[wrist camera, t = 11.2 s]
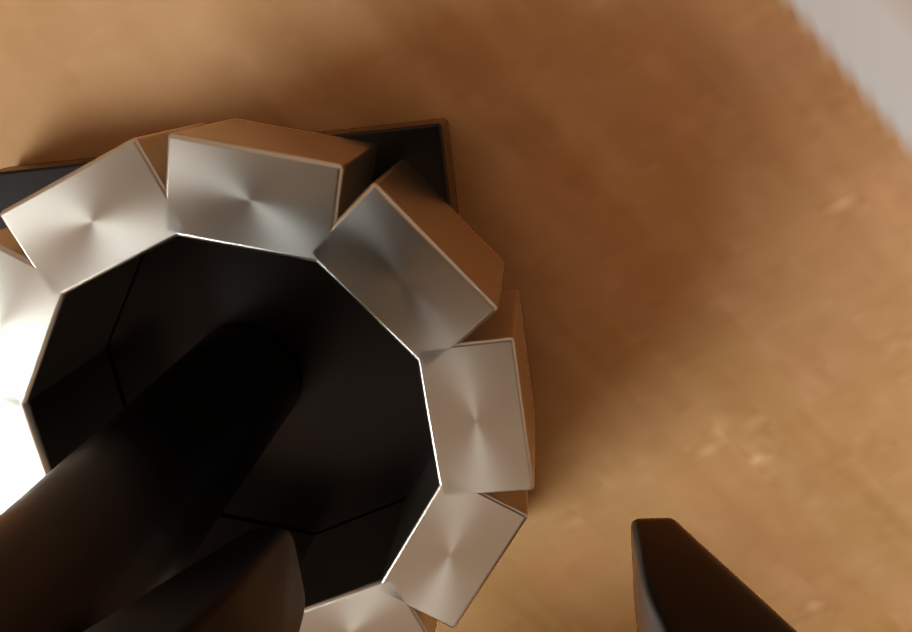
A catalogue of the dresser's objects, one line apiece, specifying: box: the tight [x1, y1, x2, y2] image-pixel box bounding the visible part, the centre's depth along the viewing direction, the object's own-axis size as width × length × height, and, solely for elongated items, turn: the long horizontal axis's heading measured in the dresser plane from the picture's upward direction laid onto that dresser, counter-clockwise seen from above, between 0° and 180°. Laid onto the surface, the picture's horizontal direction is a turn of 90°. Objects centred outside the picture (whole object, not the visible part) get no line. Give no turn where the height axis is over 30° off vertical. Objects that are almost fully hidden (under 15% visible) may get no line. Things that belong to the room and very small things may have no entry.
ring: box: [0, 118, 535, 632], centre depth 13 cm, size 9×9×2 cm
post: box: [0, 118, 459, 632], centre depth 11 cm, size 8×8×9 cm
